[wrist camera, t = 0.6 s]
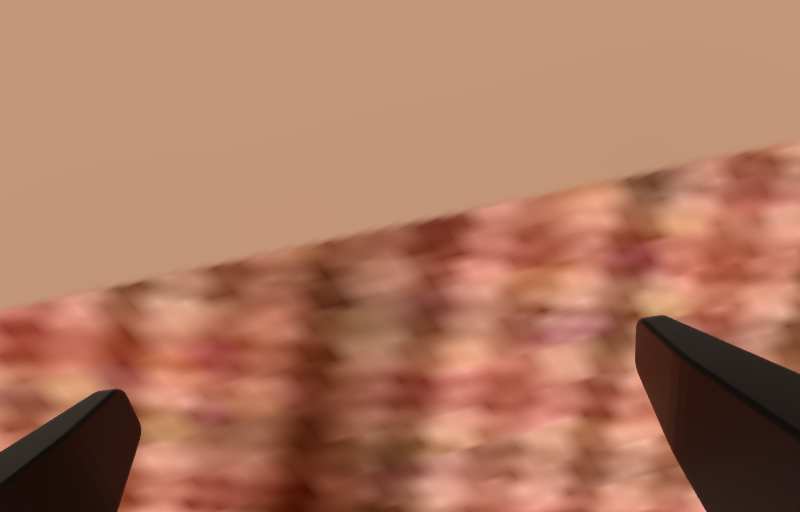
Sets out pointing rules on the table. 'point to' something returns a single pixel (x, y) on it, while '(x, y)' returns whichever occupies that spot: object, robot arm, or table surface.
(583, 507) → the table surface
